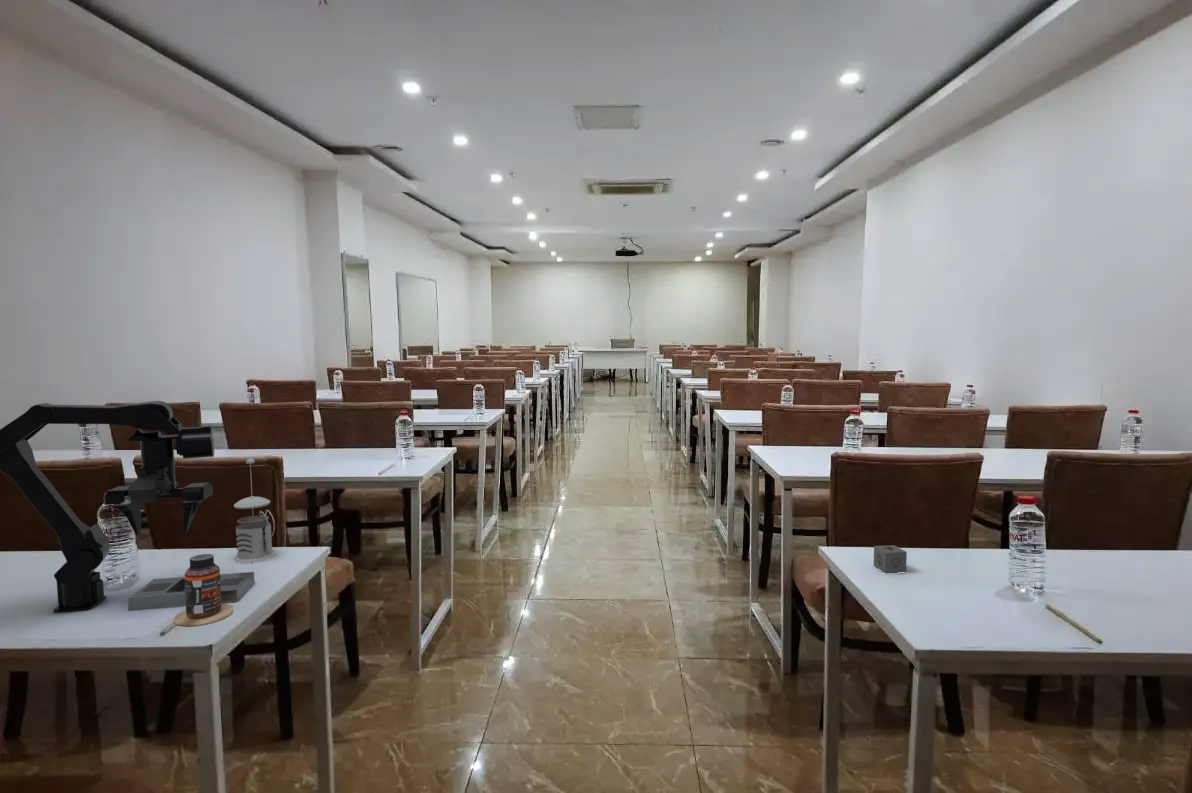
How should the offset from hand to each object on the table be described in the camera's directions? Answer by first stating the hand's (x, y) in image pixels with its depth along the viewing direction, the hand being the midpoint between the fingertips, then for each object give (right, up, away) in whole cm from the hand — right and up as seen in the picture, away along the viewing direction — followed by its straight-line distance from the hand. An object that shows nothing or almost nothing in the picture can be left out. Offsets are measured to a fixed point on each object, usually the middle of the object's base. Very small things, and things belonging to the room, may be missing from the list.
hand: (162, 533), depth 137 cm
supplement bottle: (+16, -14, -11) cm, 23 cm away
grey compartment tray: (+8, -13, -1) cm, 15 cm away
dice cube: (+160, -11, +11) cm, 161 cm away
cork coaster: (+16, -14, -11) cm, 24 cm away
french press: (+8, -11, +24) cm, 28 cm away
